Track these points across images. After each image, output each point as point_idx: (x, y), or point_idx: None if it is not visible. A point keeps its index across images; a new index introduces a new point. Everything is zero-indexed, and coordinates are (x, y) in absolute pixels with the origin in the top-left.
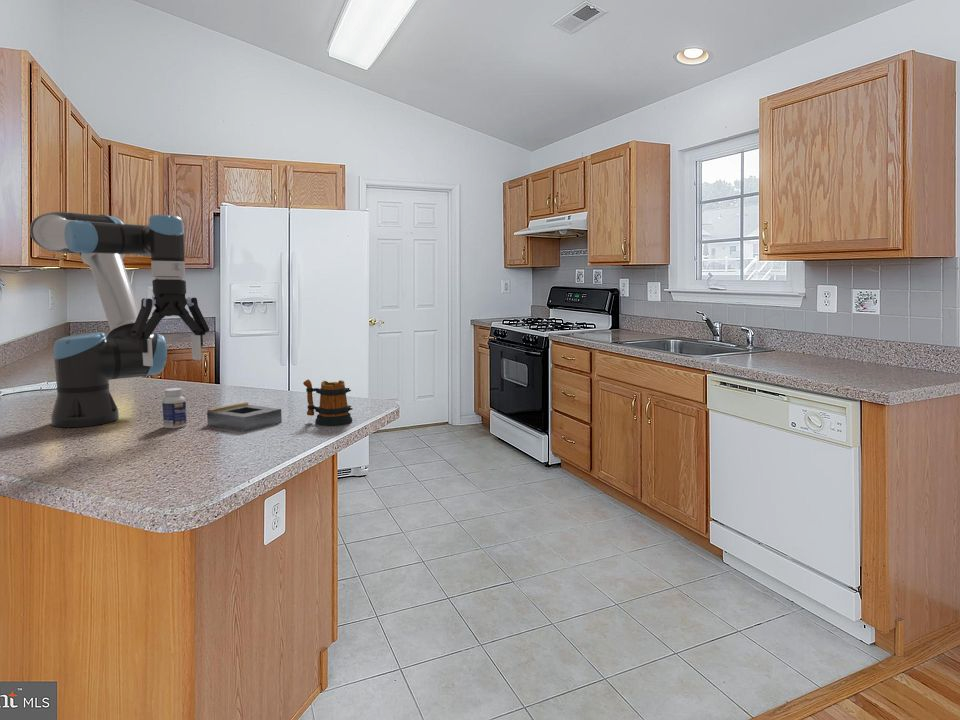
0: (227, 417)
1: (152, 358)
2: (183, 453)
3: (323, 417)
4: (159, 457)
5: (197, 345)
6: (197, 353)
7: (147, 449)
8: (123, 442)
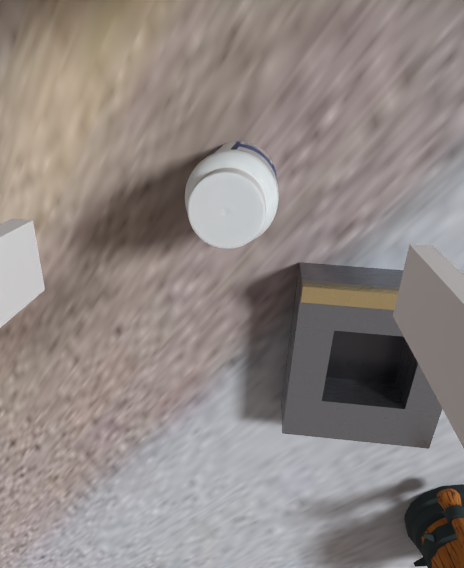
0: (290, 367)
1: (14, 314)
2: (70, 423)
3: (417, 535)
4: (24, 406)
5: (433, 377)
6: (411, 329)
7: (38, 336)
8: None
